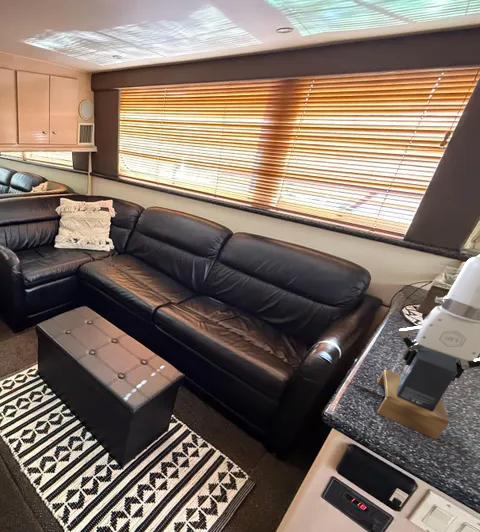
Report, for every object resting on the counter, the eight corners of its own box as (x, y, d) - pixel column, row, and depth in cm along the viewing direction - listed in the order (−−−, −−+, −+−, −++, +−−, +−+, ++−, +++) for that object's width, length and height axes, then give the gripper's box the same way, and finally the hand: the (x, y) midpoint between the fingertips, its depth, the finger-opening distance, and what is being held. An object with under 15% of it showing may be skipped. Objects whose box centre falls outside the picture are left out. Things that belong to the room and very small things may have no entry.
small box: (398, 374, 89) (419, 339, 85) (432, 388, 85) (456, 352, 81) (395, 395, 81) (417, 357, 76) (432, 413, 76) (459, 373, 72)
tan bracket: (427, 406, 87) (438, 389, 85) (436, 439, 76) (449, 421, 74) (375, 385, 94) (384, 368, 91) (377, 413, 83) (387, 395, 81)
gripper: (416, 300, 76) (383, 360, 83) (530, 331, 66) (482, 396, 72) (412, 291, 81) (382, 348, 88) (517, 318, 71) (474, 381, 78)
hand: (427, 370), depth 80 cm, fingers closed on small box, 7 cm apart
